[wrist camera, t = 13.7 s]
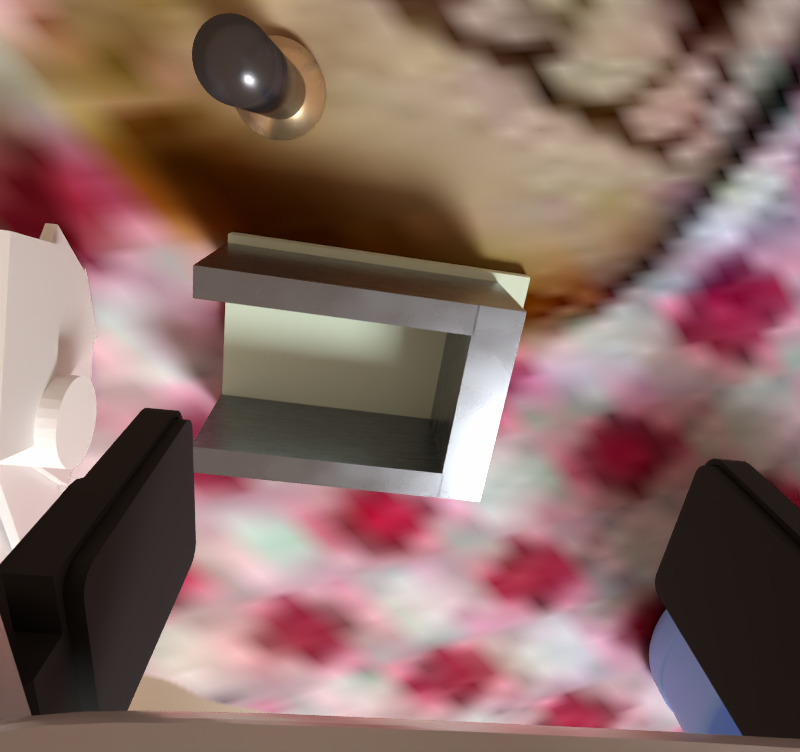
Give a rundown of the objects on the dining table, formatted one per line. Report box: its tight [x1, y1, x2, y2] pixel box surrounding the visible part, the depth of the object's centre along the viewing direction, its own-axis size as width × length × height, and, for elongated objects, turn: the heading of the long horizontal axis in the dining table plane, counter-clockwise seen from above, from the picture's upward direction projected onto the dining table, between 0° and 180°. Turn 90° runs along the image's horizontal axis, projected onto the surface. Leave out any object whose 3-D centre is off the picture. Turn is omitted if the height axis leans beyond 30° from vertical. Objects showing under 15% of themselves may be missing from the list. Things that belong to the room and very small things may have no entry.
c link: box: [193, 243, 527, 502], centre depth 28 cm, size 14×10×6 cm
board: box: [222, 232, 530, 419], centre depth 32 cm, size 16×11×1 cm
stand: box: [192, 13, 326, 140], centre depth 22 cm, size 4×4×10 cm
